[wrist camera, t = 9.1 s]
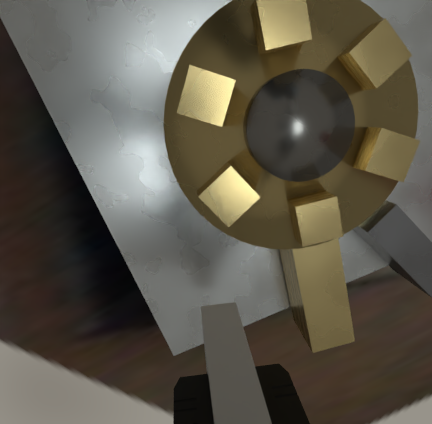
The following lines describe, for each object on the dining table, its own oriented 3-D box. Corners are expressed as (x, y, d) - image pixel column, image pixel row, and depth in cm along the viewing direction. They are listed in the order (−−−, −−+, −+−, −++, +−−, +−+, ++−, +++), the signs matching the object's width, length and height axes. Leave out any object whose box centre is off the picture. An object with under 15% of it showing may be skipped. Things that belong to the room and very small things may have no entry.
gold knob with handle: (138, 34, 18) (126, 9, 14) (365, -20, 18) (422, -60, 14) (219, 339, 22) (229, 392, 18) (403, 290, 23) (455, 331, 18)
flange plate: (9, 11, 19) (-54, -29, 14) (382, -149, 19) (462, -250, 14) (176, 342, 24) (176, 405, 19) (469, 218, 24) (550, 247, 19)
